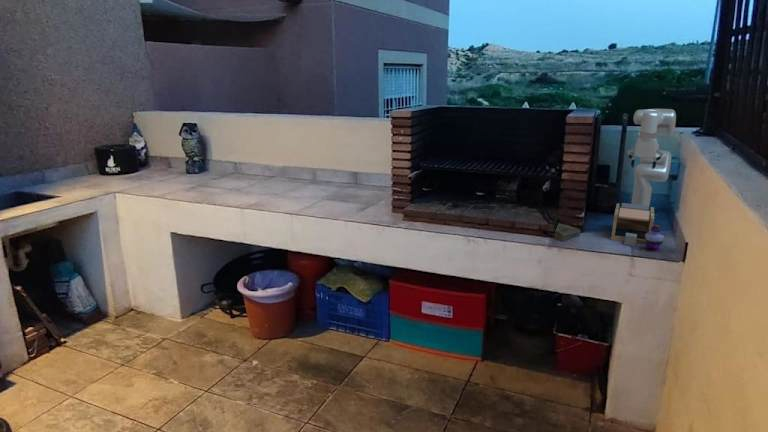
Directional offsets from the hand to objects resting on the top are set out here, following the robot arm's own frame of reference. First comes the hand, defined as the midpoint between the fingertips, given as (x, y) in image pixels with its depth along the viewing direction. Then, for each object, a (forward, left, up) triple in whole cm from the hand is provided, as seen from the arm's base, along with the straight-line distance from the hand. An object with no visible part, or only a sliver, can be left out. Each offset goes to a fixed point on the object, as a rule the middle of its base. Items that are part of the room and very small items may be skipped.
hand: (642, 168), depth 267 cm
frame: (+16, -1, -33) cm, 37 cm away
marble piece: (+32, -34, -34) cm, 58 cm away
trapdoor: (+16, -1, -24) cm, 28 cm away
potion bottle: (+34, +9, -34) cm, 49 cm away
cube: (+31, -1, -28) cm, 42 cm away
